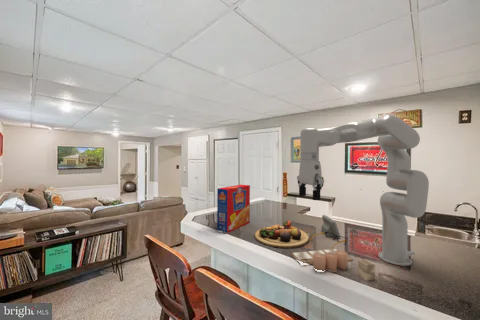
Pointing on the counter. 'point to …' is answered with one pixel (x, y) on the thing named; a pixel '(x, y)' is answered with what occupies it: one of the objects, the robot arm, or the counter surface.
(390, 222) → the robot arm
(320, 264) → the tan short cylinder
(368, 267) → the beige block
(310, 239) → the eyeglasses
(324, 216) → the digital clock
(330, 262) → the tan short cylinder
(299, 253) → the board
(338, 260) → the tan short cylinder
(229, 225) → the pasta box
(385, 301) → the counter surface
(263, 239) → the wooden plate with food
